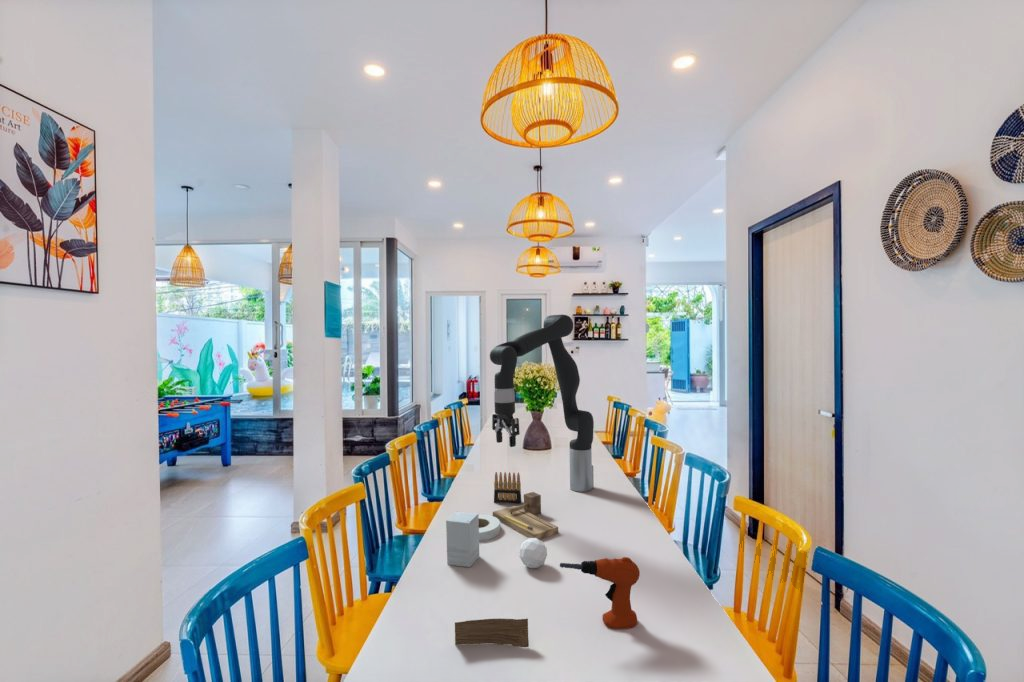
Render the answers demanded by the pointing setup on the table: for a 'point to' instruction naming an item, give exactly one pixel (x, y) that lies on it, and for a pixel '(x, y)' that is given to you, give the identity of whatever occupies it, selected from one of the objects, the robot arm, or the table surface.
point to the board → (538, 524)
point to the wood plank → (492, 632)
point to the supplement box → (462, 539)
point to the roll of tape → (488, 526)
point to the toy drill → (614, 587)
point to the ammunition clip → (506, 494)
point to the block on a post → (530, 504)
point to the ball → (533, 553)
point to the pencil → (518, 522)
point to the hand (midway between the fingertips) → (505, 444)
